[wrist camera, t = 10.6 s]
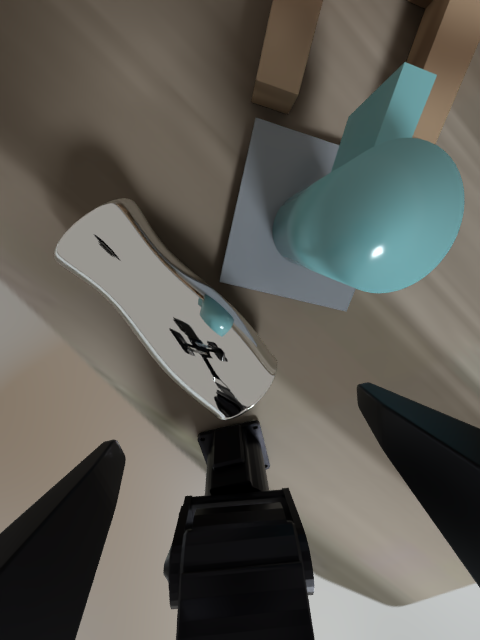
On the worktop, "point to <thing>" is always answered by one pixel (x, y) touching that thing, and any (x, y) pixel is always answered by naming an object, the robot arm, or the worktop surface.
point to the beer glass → (169, 308)
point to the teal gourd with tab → (378, 197)
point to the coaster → (261, 208)
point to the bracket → (426, 53)
